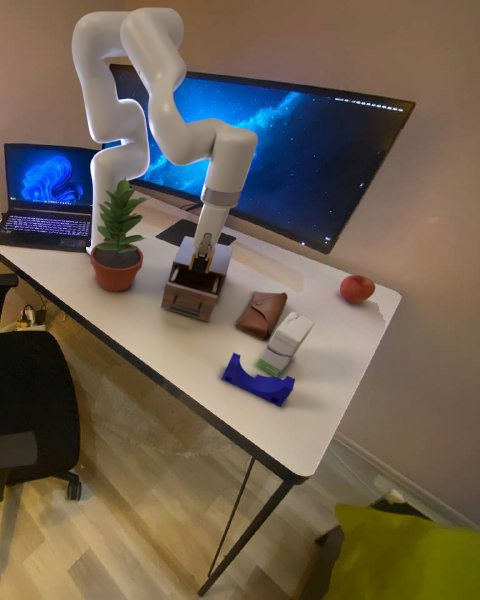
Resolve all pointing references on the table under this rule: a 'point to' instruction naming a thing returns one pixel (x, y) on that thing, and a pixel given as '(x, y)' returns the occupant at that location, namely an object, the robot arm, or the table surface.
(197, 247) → the block
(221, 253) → the cabinet
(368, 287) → the apple
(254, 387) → the blue cradle holder
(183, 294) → the drawer
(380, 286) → the table surface
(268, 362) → the ink box
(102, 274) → the potted plant
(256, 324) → the sunglasses case
